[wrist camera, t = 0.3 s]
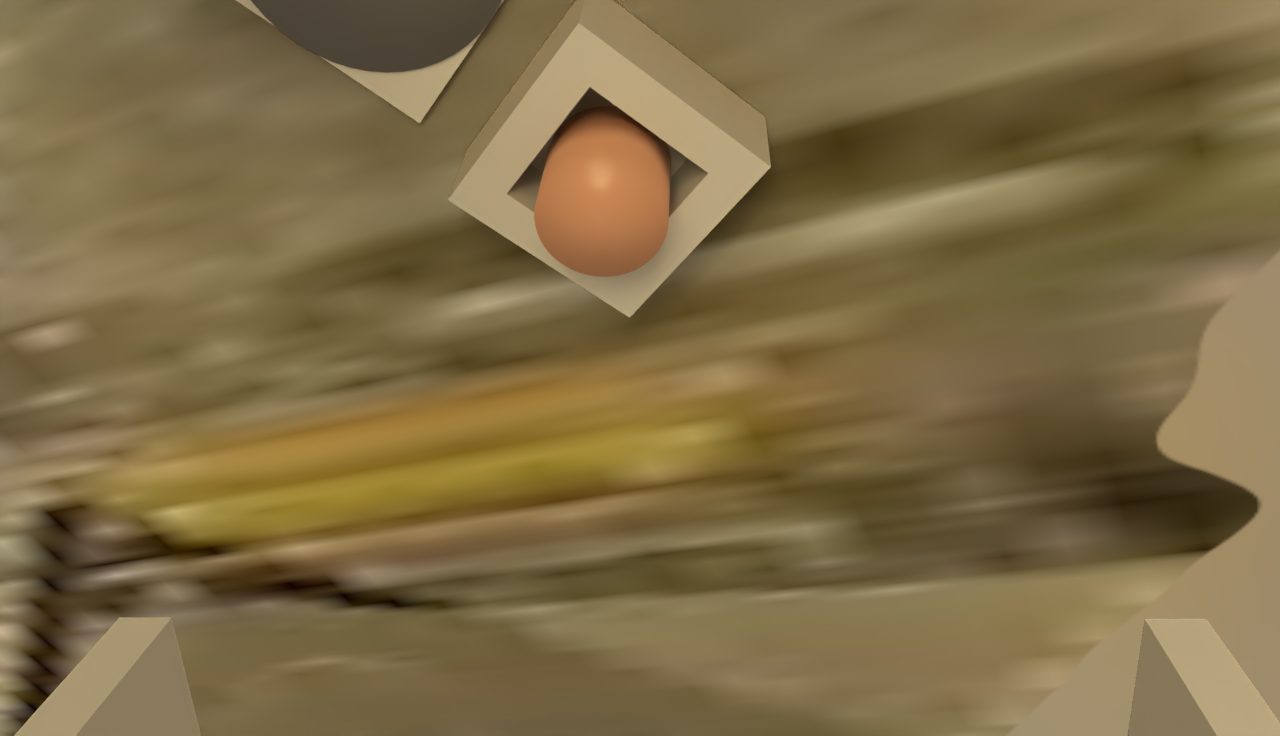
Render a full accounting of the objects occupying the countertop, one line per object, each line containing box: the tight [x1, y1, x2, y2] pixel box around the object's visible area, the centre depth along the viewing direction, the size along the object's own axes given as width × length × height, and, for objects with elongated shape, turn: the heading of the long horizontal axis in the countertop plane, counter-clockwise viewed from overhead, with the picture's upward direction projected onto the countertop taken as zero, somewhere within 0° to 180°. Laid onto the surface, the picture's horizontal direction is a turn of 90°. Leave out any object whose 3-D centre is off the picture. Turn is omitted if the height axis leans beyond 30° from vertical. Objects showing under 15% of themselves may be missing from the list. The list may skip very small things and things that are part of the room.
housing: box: [448, 0, 771, 318], centre depth 39 cm, size 8×8×4 cm
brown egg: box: [534, 106, 671, 277], centre depth 37 cm, size 4×4×4 cm
